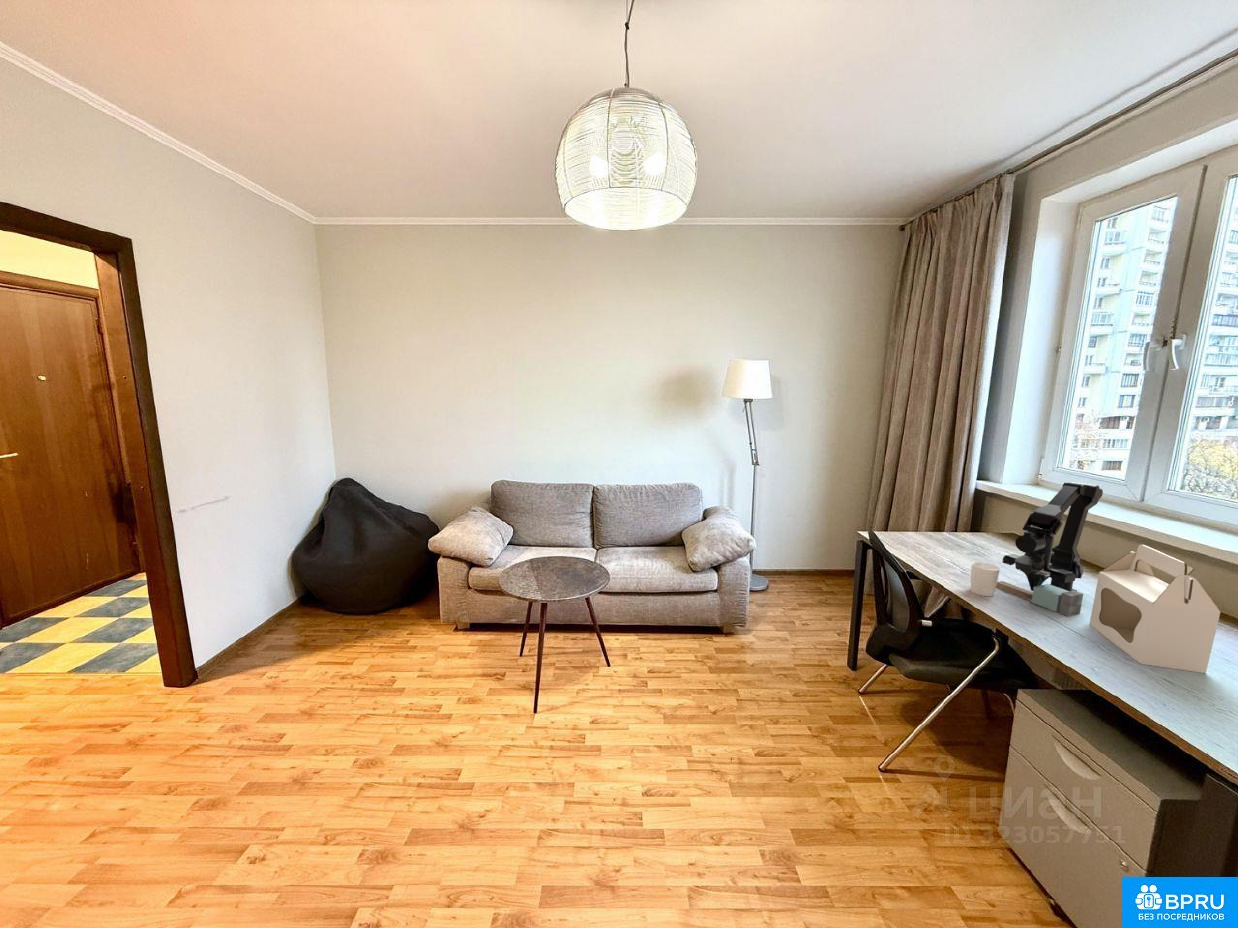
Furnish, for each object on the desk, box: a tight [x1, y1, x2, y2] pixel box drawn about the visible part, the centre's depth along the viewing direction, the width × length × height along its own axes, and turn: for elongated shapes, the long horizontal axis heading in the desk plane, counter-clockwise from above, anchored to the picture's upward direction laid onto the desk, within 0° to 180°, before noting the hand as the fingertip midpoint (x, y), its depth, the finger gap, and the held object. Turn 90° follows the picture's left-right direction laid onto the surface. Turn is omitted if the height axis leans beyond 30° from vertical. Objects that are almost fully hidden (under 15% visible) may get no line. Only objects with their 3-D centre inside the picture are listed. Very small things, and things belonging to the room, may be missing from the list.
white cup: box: [969, 561, 1001, 597], centre depth 166 cm, size 8×8×10 cm
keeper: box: [1030, 583, 1068, 612], centre depth 156 cm, size 7×7×6 cm
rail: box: [996, 580, 1084, 618], centre depth 160 cm, size 6×22×7 cm, turn 18°
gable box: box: [1089, 544, 1221, 674], centre depth 130 cm, size 22×13×28 cm, turn 162°
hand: (1033, 591), depth 161 cm, fingers closed
